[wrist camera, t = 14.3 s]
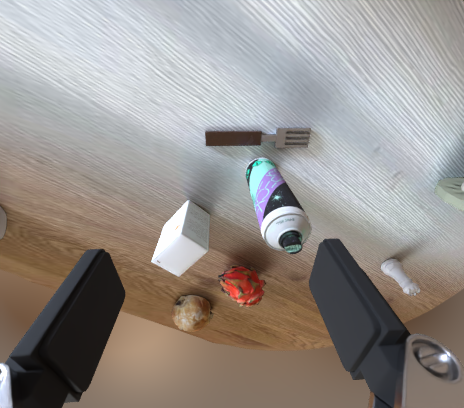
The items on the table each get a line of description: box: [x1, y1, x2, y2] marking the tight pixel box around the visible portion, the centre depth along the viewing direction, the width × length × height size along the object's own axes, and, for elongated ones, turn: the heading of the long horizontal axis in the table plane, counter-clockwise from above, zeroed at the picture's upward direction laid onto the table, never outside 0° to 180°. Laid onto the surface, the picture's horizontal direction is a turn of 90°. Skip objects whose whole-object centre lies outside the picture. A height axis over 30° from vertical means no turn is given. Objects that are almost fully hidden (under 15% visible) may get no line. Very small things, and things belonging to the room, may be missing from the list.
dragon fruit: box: [218, 265, 266, 308], centre depth 48 cm, size 8×8×12 cm
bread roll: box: [172, 295, 214, 332], centre depth 55 cm, size 10×10×8 cm
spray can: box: [246, 157, 312, 254], centre depth 30 cm, size 6×6×20 cm
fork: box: [205, 128, 311, 148], centre depth 35 cm, size 17×3×1 cm, turn 90°
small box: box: [152, 200, 210, 277], centre depth 38 cm, size 8×6×10 cm
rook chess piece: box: [381, 259, 420, 296], centre depth 49 cm, size 4×4×8 cm
